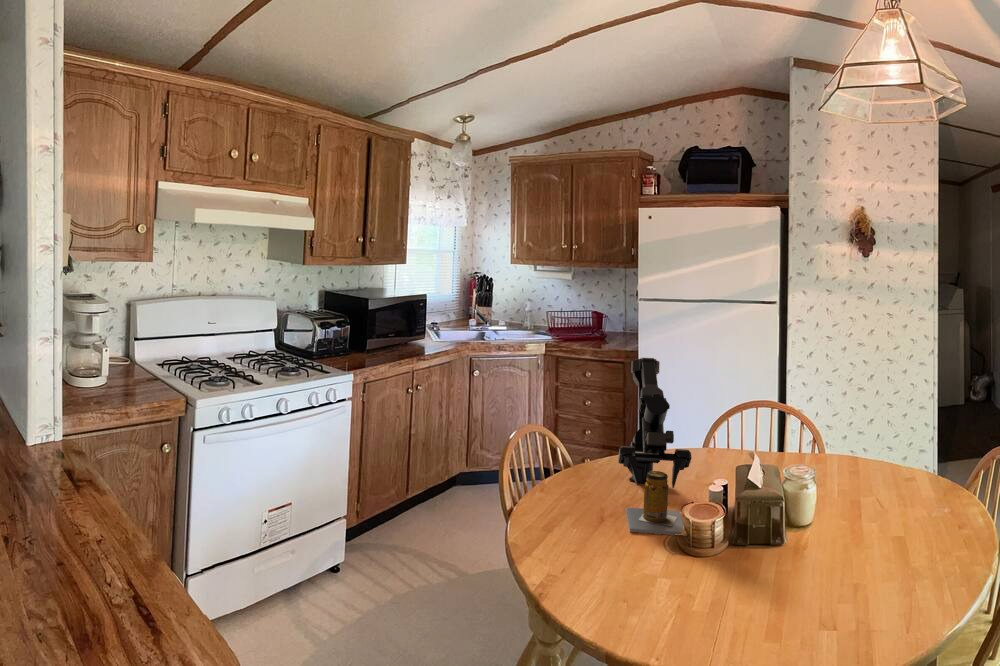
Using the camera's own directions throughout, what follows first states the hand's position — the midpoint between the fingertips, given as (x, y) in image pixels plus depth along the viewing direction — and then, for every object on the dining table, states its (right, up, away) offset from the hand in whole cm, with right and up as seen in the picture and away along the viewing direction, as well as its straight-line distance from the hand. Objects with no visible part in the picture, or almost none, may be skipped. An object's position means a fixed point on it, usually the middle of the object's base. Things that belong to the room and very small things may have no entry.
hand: (655, 486), depth 178 cm
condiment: (0, -8, -2) cm, 9 cm away
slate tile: (-1, -9, -2) cm, 9 cm away
